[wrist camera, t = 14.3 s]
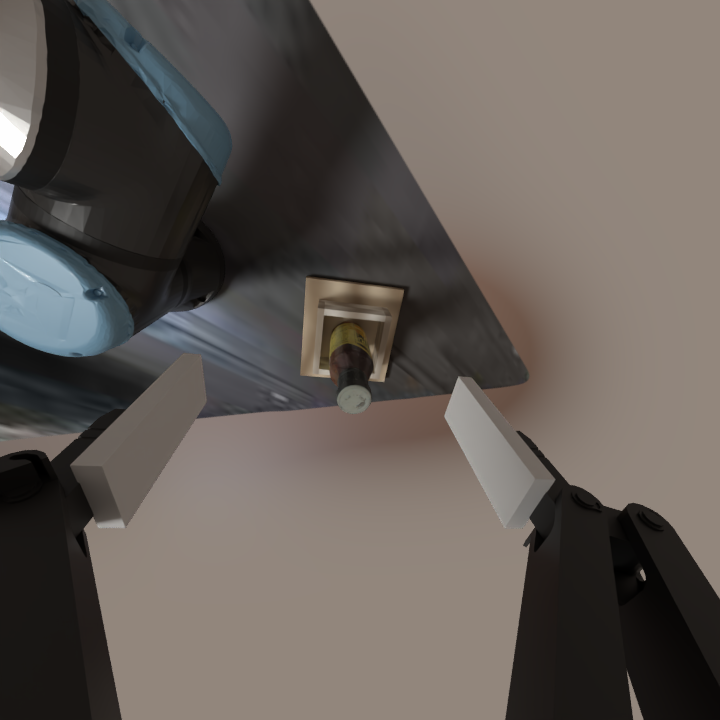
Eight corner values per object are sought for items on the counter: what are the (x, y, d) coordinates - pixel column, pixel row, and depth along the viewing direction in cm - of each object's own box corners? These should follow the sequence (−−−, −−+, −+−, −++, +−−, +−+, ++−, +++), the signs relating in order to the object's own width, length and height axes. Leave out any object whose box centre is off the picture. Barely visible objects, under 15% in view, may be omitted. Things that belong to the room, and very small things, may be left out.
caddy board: (301, 372, 54) (298, 388, 49) (306, 276, 46) (303, 284, 41) (383, 378, 56) (388, 395, 51) (402, 288, 48) (410, 297, 43)
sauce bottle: (368, 347, 51) (387, 419, 34) (335, 355, 51) (337, 431, 34) (360, 313, 48) (377, 373, 31) (325, 322, 48) (321, 387, 31)
